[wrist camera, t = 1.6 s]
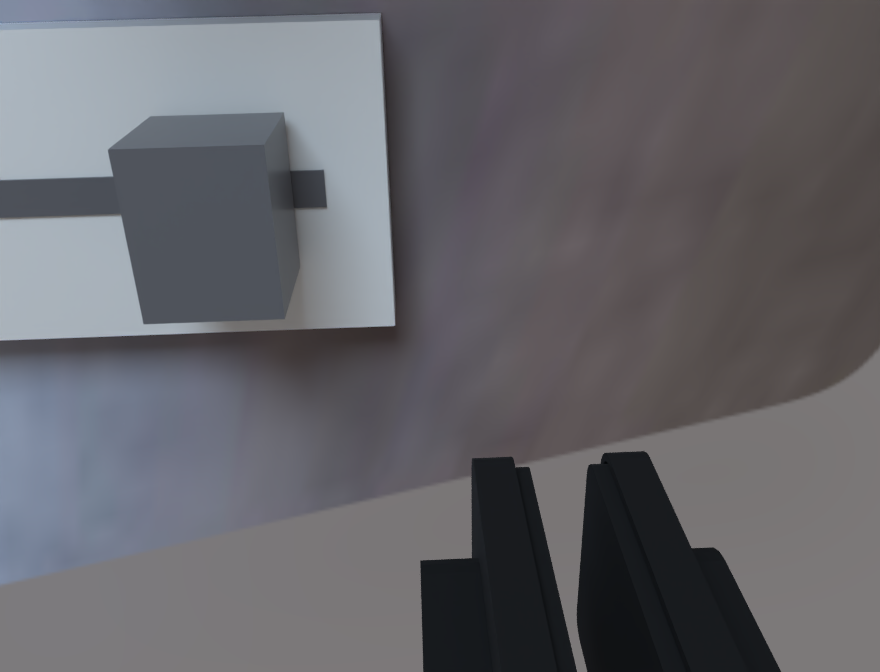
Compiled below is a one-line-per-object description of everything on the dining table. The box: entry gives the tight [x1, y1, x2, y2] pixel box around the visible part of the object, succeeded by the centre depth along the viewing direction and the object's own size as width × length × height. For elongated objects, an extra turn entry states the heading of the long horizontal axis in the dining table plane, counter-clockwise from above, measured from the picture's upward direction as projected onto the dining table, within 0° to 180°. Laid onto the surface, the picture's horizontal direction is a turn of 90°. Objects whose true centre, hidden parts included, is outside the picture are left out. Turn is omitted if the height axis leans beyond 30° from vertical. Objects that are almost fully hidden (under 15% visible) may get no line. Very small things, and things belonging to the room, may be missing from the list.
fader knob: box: [108, 112, 300, 324], centre depth 24 cm, size 4×5×4 cm
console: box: [0, 13, 396, 341], centre depth 27 cm, size 24×10×2 cm, turn 91°
